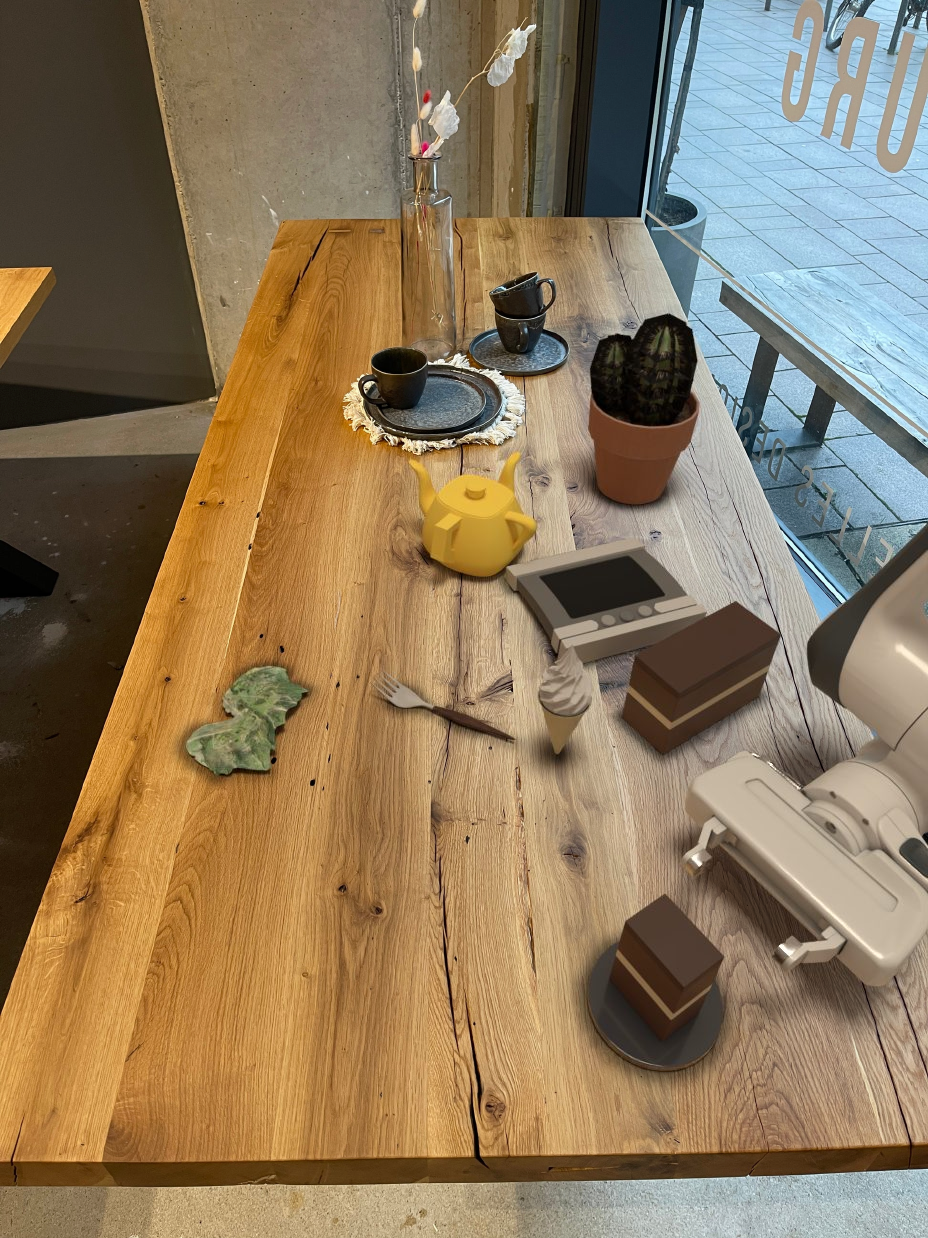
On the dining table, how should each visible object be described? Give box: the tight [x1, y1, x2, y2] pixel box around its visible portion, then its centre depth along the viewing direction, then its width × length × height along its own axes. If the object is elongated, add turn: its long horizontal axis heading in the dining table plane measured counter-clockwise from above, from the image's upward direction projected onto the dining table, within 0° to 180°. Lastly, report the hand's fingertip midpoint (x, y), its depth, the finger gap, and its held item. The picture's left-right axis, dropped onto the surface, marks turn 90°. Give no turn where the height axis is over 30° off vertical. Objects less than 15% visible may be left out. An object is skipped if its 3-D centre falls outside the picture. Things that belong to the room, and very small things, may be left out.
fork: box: [369, 667, 516, 741], centre depth 92 cm, size 3×16×2 cm, turn 63°
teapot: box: [408, 451, 538, 578], centre depth 109 cm, size 14×13×10 cm
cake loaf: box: [621, 600, 782, 755], centre depth 91 cm, size 14×6×9 cm, turn 125°
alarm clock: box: [505, 536, 708, 664], centre depth 105 cm, size 17×5×16 cm
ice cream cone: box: [537, 645, 593, 755], centre depth 85 cm, size 5×5×15 cm
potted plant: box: [587, 312, 701, 505], centre depth 115 cm, size 14×14×25 cm
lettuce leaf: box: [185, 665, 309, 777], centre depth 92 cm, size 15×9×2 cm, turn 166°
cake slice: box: [609, 893, 725, 1042], centre depth 68 cm, size 4×6×9 cm, turn 35°
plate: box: [587, 940, 724, 1072], centre depth 71 cm, size 10×10×1 cm
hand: (732, 912), depth 69 cm, fingers open, 8 cm apart
